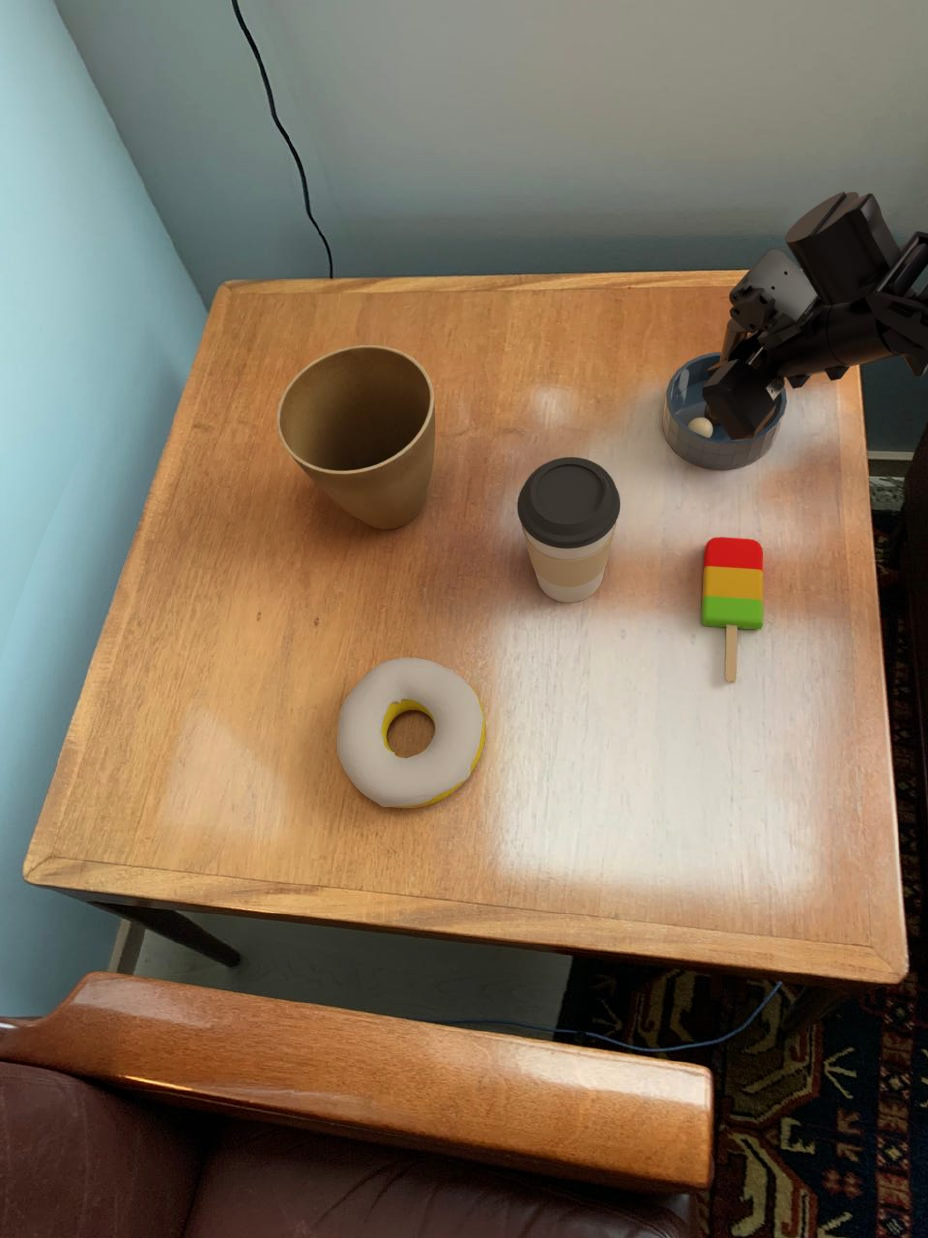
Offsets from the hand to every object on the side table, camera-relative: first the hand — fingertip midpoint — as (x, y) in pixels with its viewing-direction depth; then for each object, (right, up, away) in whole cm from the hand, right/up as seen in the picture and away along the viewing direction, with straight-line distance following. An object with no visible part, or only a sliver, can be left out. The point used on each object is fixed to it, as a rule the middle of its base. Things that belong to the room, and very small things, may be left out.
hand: (716, 366), depth 86 cm
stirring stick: (+2, -4, +5) cm, 7 cm away
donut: (-30, -37, -4) cm, 47 cm away
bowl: (+2, -4, +7) cm, 9 cm away
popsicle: (+1, -25, -2) cm, 25 cm away
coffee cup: (-14, -20, +2) cm, 25 cm away
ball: (0, -5, +5) cm, 7 cm away
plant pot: (-33, -12, +8) cm, 36 cm away
